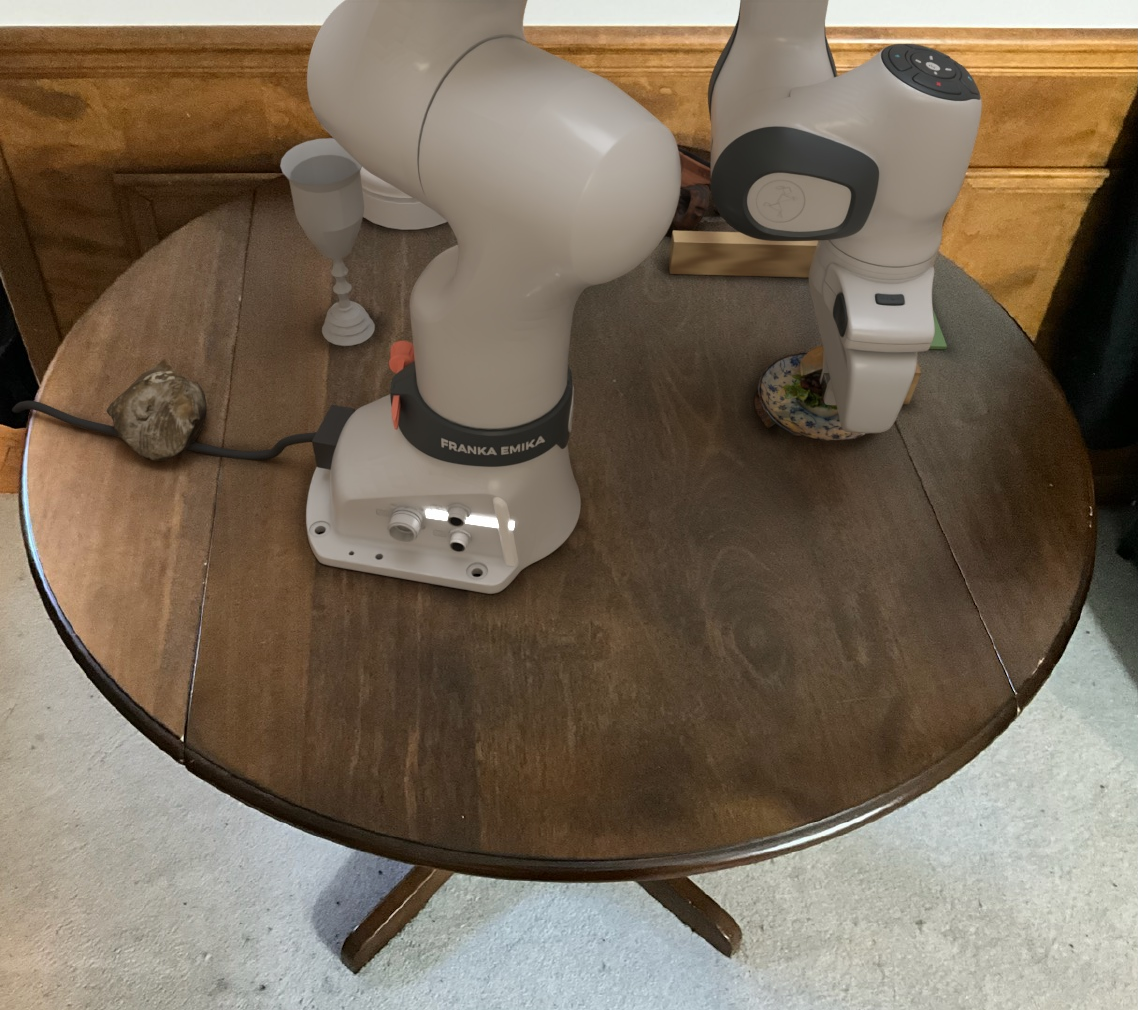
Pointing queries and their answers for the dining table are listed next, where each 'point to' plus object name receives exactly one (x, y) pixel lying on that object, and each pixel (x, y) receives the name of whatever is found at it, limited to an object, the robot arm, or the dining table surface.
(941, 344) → the green flat rectangular block
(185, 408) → the fossilized seashell
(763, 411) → the burger
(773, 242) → the corner fence
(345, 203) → the chalice
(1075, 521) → the dining table surface
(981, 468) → the dining table surface
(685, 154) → the pottery mug
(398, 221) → the honey pot
